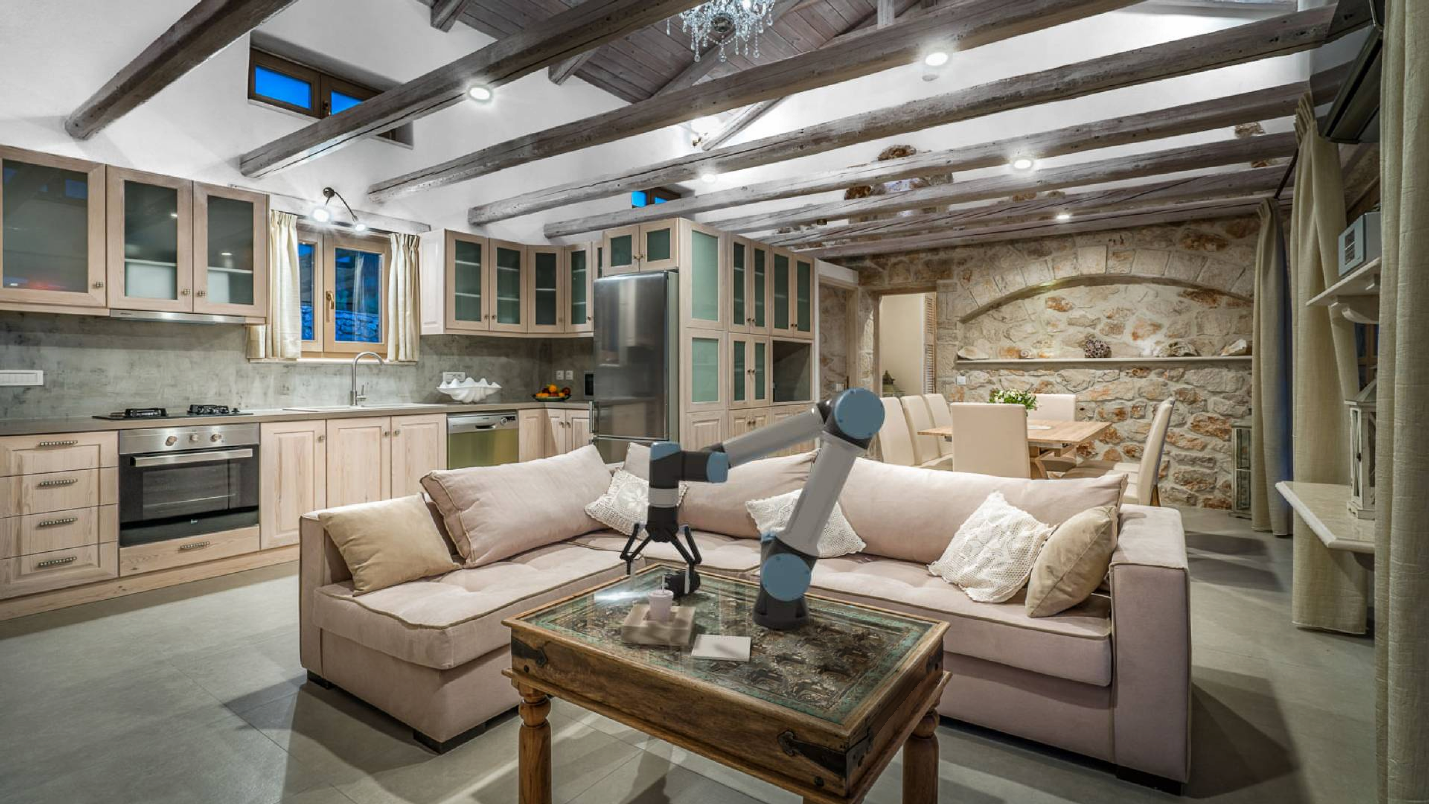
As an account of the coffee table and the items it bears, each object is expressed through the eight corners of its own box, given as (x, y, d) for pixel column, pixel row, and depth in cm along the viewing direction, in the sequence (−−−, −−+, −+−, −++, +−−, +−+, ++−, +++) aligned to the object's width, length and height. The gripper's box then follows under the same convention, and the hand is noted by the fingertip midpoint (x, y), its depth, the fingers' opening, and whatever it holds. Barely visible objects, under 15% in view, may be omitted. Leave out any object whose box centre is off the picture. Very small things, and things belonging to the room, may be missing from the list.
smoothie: (675, 635, 159) (676, 578, 159) (649, 637, 157) (650, 580, 157) (669, 626, 165) (671, 571, 165) (644, 628, 163) (646, 572, 163)
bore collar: (695, 622, 169) (695, 607, 169) (687, 646, 153) (688, 629, 153) (634, 619, 170) (634, 603, 170) (620, 642, 154) (620, 625, 154)
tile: (750, 639, 158) (750, 637, 158) (748, 661, 145) (749, 658, 145) (697, 636, 159) (697, 634, 159) (690, 658, 146) (690, 655, 146)
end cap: (677, 602, 185) (677, 578, 185) (659, 596, 190) (660, 573, 190) (700, 594, 193) (701, 571, 192) (683, 589, 197) (683, 567, 197)
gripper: (714, 504, 164) (711, 588, 164) (616, 499, 166) (613, 582, 166) (712, 509, 156) (708, 598, 156) (609, 504, 158) (606, 591, 158)
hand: (659, 590), depth 161 cm, fingers open, 13 cm apart
